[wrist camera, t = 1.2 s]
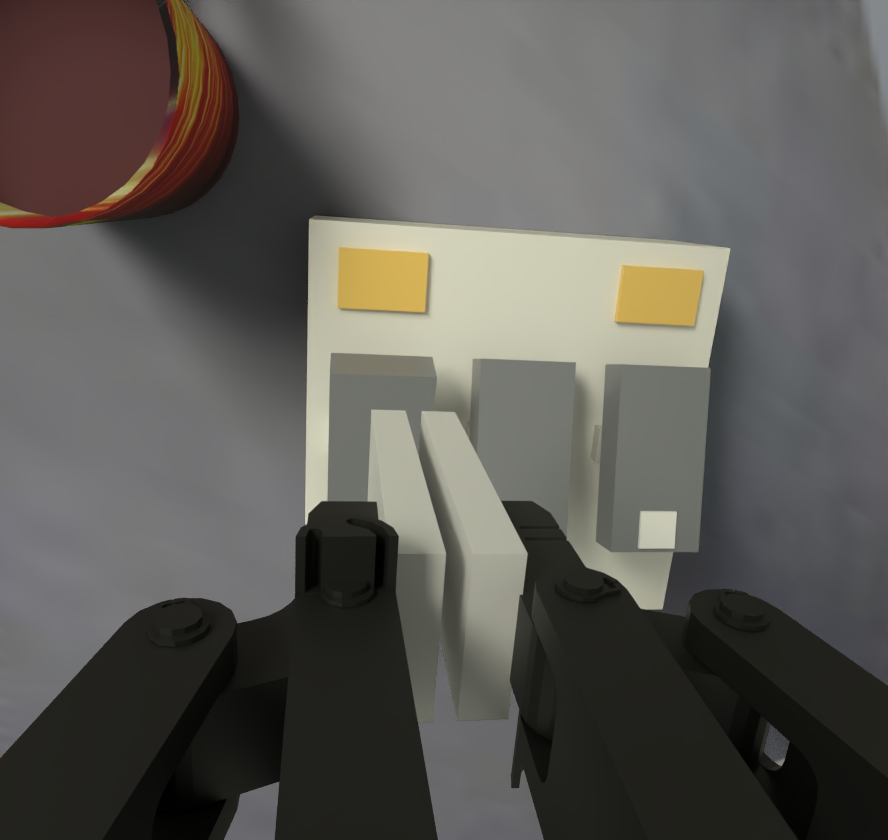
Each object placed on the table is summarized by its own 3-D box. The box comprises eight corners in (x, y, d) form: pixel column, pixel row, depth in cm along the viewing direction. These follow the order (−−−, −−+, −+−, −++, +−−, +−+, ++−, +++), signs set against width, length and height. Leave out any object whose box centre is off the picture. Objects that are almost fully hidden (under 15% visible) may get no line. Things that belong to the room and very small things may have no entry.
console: (315, 215, 33) (307, 219, 27) (669, 240, 36) (739, 249, 29) (309, 553, 38) (303, 623, 32) (618, 552, 41) (668, 616, 35)
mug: (146, -167, 28) (11, -416, 17) (271, 182, 32) (232, 174, 21) (-89, -100, 27) (-393, -307, 16) (70, 244, 32) (-79, 269, 21)
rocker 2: (472, 358, 30) (481, 358, 28) (562, 362, 30) (577, 362, 28) (465, 541, 30) (473, 553, 28) (552, 541, 31) (566, 553, 29)
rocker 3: (605, 364, 31) (623, 364, 29) (689, 367, 31) (712, 367, 29) (595, 541, 31) (612, 553, 29) (678, 541, 32) (700, 552, 30)
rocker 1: (330, 352, 27) (329, 375, 25) (432, 356, 28) (437, 379, 26) (327, 514, 31) (326, 543, 29) (416, 515, 32) (420, 543, 30)
